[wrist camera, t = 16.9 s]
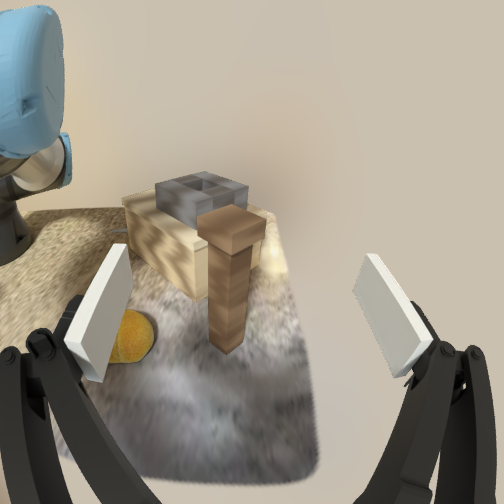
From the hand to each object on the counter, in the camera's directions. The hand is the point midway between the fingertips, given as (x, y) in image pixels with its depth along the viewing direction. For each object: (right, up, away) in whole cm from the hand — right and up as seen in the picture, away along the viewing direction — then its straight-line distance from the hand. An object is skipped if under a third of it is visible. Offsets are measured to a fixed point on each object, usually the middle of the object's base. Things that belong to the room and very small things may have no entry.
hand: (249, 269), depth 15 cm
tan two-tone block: (-11, 0, +34) cm, 36 cm away
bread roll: (-17, -11, +17) cm, 26 cm away
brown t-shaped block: (-3, -10, +19) cm, 22 cm away
